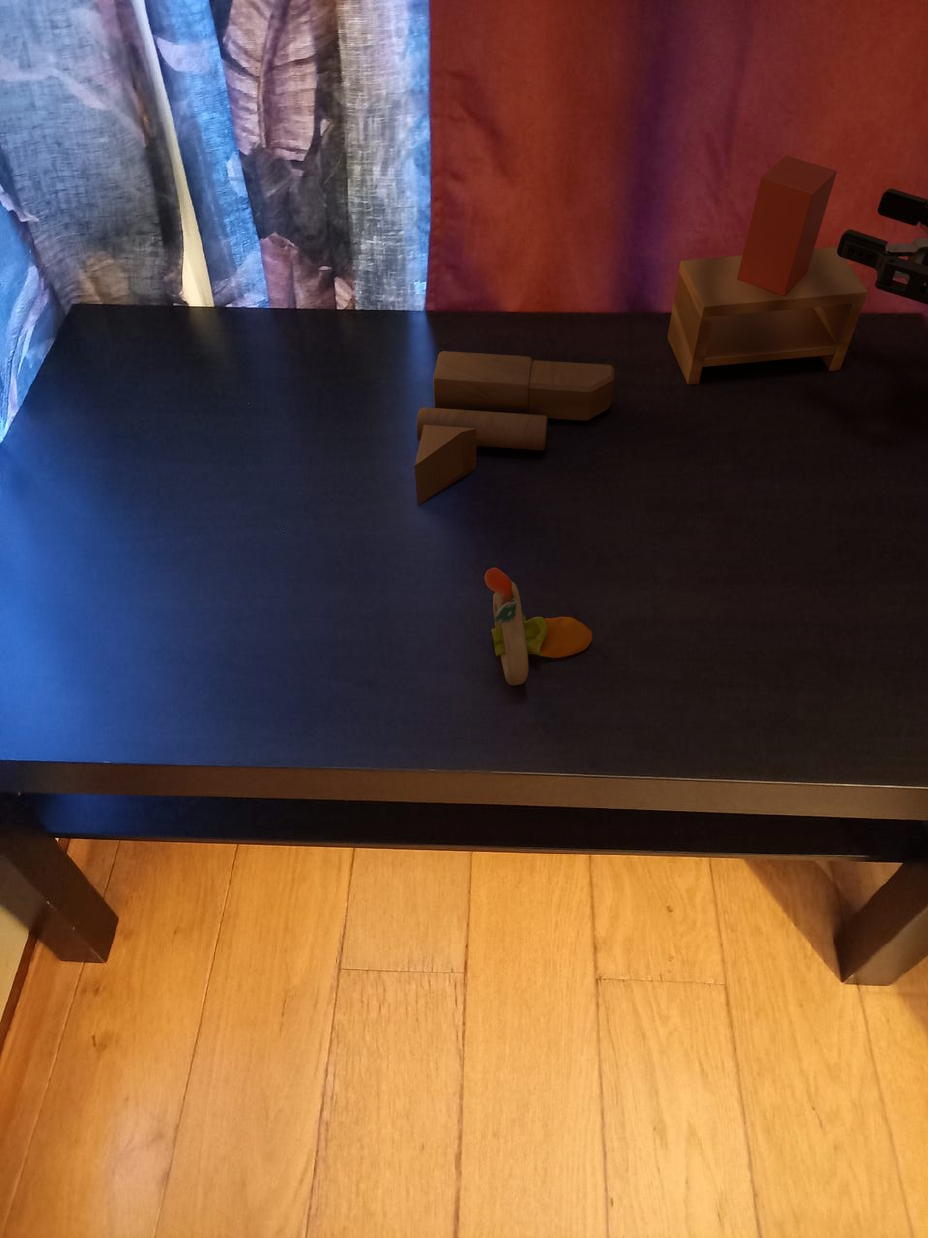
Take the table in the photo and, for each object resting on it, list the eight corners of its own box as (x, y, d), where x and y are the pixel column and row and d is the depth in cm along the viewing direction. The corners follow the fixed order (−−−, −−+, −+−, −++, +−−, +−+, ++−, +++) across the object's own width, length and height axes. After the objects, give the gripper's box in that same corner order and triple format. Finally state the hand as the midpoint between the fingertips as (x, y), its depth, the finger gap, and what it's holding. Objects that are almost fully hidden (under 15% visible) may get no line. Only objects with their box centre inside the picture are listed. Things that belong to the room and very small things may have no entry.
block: (807, 272, 91) (837, 170, 83) (784, 296, 89) (813, 193, 81) (760, 256, 93) (785, 154, 85) (736, 279, 91) (760, 176, 83)
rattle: (588, 708, 71) (602, 614, 62) (481, 697, 72) (480, 603, 63) (592, 630, 76) (606, 532, 67) (491, 621, 77) (492, 523, 68)
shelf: (812, 324, 101) (837, 246, 94) (840, 370, 96) (868, 291, 89) (667, 337, 100) (680, 260, 93) (687, 384, 95) (703, 306, 88)
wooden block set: (429, 339, 91) (616, 351, 90) (431, 387, 96) (609, 399, 94) (401, 456, 81) (611, 472, 79) (405, 504, 85) (605, 519, 84)
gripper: (1101, 201, 77) (908, 145, 83) (1045, 280, 70) (839, 213, 76) (1057, 283, 83) (880, 226, 89) (1001, 364, 76) (814, 295, 82)
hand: (861, 220), depth 83 cm, fingers open, 8 cm apart
